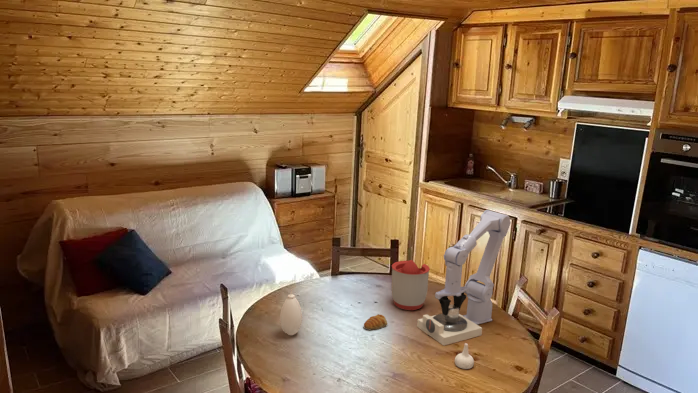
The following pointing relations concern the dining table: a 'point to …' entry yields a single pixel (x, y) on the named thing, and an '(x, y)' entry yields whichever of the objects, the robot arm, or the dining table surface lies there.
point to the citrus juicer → (409, 284)
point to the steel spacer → (452, 314)
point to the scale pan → (451, 326)
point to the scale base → (448, 337)
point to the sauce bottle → (291, 315)
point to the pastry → (375, 322)
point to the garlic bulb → (464, 359)
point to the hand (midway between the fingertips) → (450, 313)
